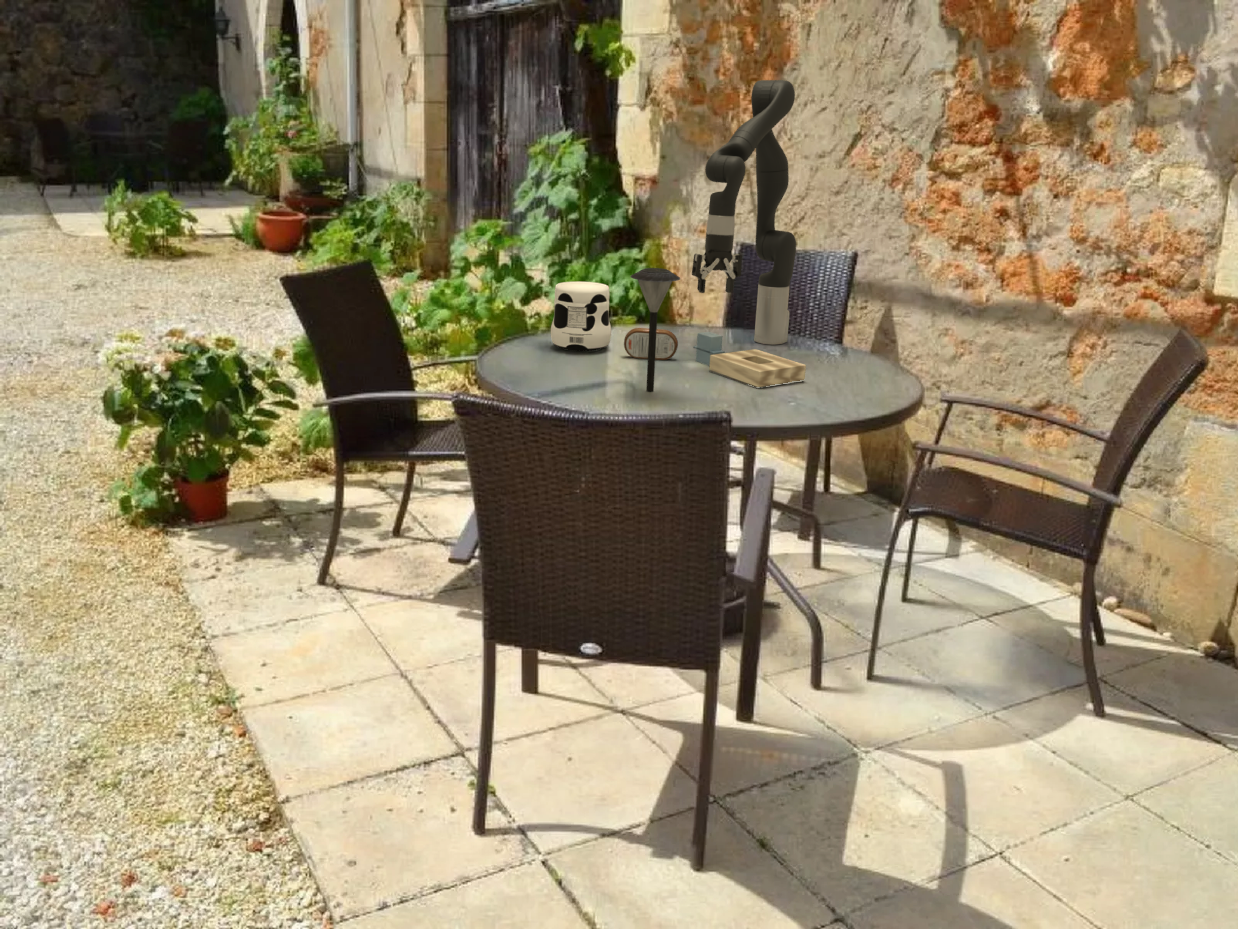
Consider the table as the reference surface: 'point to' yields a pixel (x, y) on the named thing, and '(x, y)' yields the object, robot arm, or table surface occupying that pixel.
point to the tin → (639, 341)
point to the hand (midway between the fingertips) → (715, 292)
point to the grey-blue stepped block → (708, 346)
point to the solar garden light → (653, 308)
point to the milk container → (581, 316)
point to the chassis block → (756, 368)
